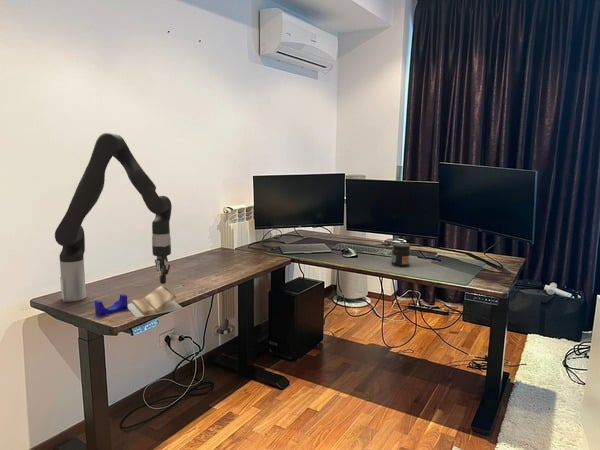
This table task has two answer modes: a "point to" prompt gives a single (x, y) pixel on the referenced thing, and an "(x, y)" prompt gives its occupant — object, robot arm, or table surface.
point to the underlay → (168, 308)
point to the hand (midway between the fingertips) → (163, 283)
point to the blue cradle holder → (116, 307)
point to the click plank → (160, 297)
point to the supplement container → (401, 255)
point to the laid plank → (144, 306)
